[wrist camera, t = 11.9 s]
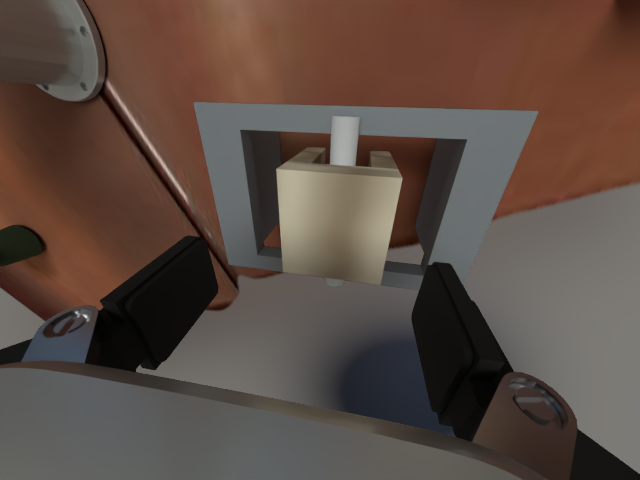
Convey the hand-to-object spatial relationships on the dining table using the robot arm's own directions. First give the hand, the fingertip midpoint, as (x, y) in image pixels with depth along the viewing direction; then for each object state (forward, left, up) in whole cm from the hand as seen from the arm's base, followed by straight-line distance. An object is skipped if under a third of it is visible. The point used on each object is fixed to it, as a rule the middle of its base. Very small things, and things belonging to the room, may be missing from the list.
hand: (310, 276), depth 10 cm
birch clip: (0, 0, -13) cm, 13 cm away
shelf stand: (0, 0, -20) cm, 20 cm away
